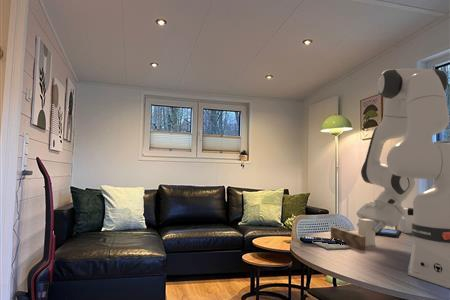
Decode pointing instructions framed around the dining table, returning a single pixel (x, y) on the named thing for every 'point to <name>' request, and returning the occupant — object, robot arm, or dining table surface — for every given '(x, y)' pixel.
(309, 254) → the dining table surface
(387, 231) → the handheld game console
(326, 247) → the grey flat board
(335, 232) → the door edge
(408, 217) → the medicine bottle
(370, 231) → the block
